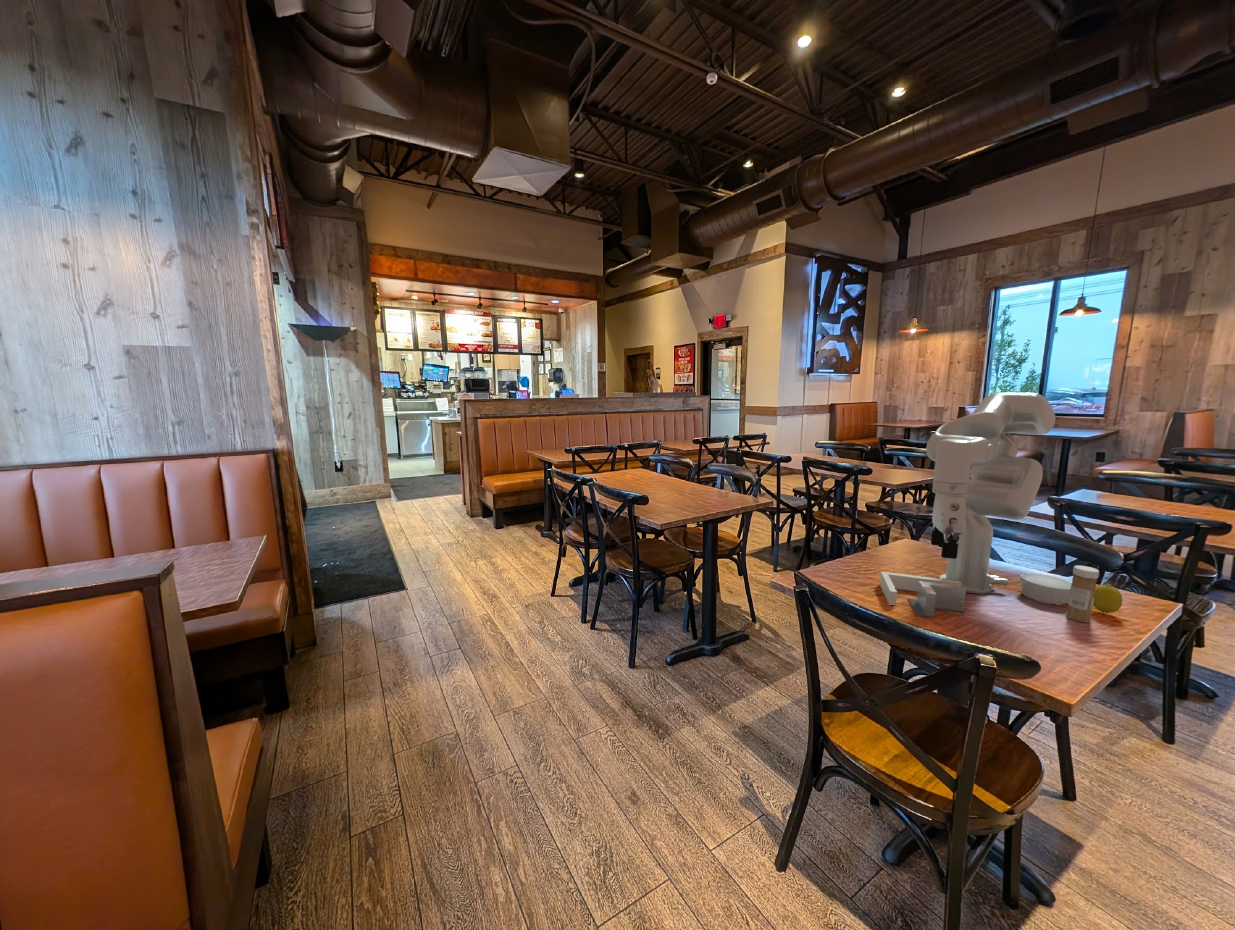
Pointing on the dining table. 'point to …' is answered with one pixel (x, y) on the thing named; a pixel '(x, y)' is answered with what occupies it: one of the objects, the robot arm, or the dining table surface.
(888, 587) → the light grey l-shaped block
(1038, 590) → the ramekin
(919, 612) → the pose mat
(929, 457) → the robot arm
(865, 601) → the dining table surface
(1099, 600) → the lemon
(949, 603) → the angle bracket
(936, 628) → the dining table surface
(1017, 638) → the dining table surface
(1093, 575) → the sprinkles bottle
